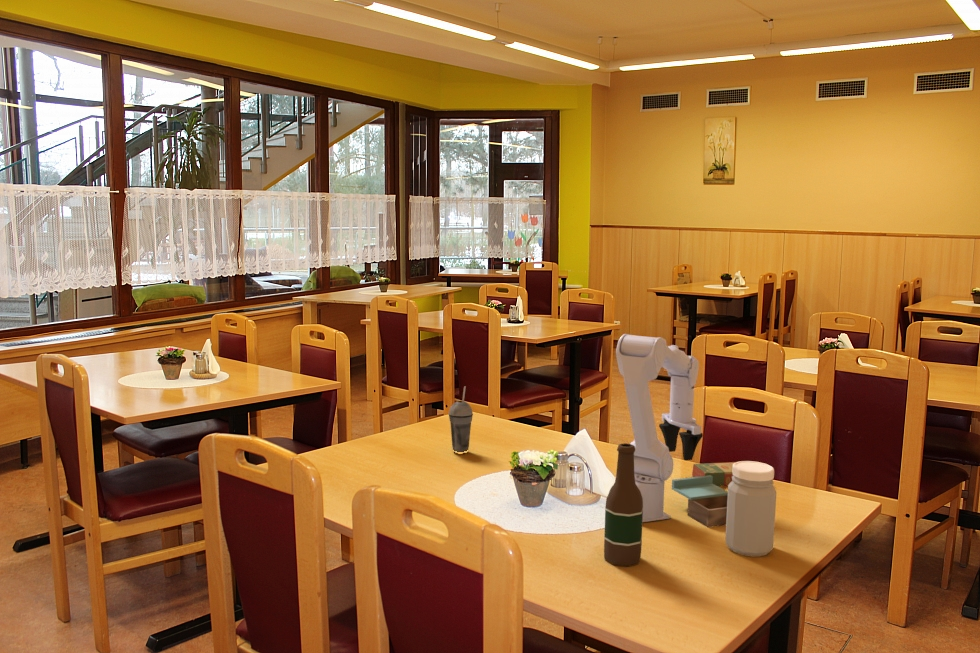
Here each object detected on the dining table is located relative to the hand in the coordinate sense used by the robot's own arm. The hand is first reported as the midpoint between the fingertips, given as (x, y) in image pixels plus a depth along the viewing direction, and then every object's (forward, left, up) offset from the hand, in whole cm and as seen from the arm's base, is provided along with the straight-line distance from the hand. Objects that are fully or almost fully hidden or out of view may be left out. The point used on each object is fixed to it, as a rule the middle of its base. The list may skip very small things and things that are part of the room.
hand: (679, 455), depth 198 cm
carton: (+19, +6, -11) cm, 23 cm away
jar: (-5, -34, -11) cm, 36 cm away
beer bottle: (-33, -30, -11) cm, 46 cm away
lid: (0, -10, -6) cm, 12 cm away
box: (0, -17, -10) cm, 20 cm away
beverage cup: (-41, +53, -11) cm, 68 cm away
